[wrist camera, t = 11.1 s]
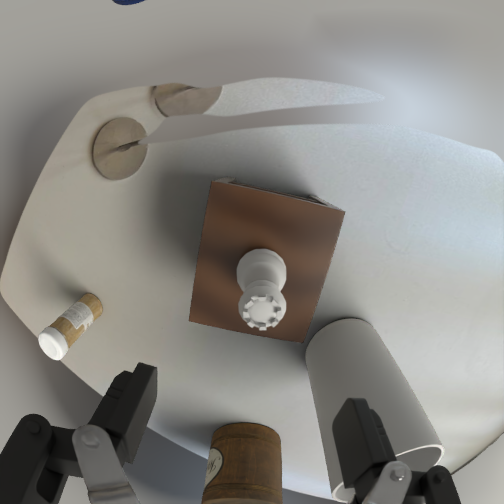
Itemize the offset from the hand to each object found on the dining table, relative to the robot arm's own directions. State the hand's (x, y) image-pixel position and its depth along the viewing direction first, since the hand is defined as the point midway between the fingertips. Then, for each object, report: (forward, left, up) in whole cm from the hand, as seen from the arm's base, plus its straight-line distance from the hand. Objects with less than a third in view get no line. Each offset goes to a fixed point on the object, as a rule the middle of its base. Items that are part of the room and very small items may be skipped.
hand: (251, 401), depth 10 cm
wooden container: (+44, +8, -28) cm, 53 cm away
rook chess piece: (0, +1, -16) cm, 16 cm away
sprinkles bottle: (+17, -24, -28) cm, 41 cm away
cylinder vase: (+15, +18, -28) cm, 37 cm away
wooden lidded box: (0, +1, -28) cm, 28 cm away
